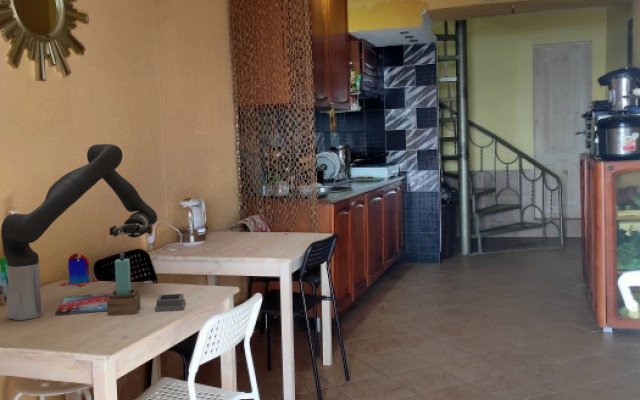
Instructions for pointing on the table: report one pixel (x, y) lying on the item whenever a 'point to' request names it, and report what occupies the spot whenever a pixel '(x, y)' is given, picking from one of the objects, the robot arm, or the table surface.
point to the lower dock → (170, 302)
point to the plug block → (122, 276)
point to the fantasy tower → (78, 271)
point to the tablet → (83, 304)
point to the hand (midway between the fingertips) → (127, 233)
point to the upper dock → (123, 303)
